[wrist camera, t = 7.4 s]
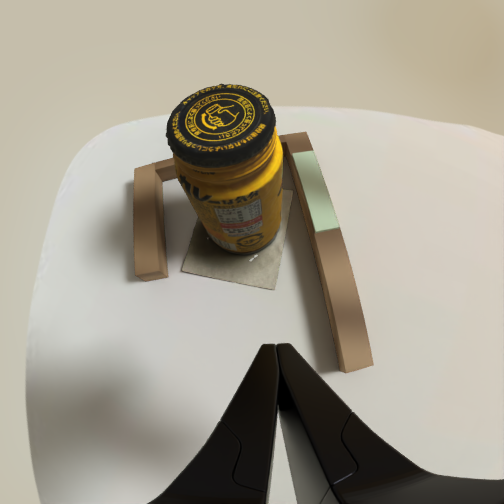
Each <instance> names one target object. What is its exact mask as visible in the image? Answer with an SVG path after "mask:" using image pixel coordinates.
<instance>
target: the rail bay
mask: <svg viewBox="0 0 504 504" xmlns="http://www.w3.org/2000/svg"><path fill="white" fill-rule="evenodd" d="M278 137H279V140H280V142H281V146H282V150H283V156H286V157H287V161H288V164H289V167H290V170H291V174H292V177H293V180H294V184H295V187H296V190H297V194H298V197H299V201H300V204H301V208H302V212H303V215H304V219H305V222H306V226H307V230H308V233H309V237H310V241H311V245H312V249H313V253H314V257H315V260H316V264H317V269H318V273H319V277H320V281H321V285H322V289H323V293H324V298H325V302H326V307H327V311H328V316H329V320H330V325H331V329H332V334H333V339H334V344H335V349H336V354H337V359H338V364H339V369H340V371H341V372H344V373H349V372H352V371H356V370H359V369H363V368H366V367H369V366H373V365H374V364H373V359H372V354H371V349H370V344H369V339H368V334H367V329H366V325H365V320H364V316H363V312H362V307H361V303H360V299H359V295H358V291H357V287H356V283H355V279H354V275H353V272H352V268H351V264H350V261H349V257H348V253H347V250H346V246H345V243H344V240H343V236H342V233H341V230H340V226H339V223H338V220H337V217H336V214H335V210H334V207H333V204H332V201H331V198H330V195H329V192H328V189H327V186H326V184H325V181H324V178H323V175H322V172H321V169H320V167H319V164H318V161H317V158H316V156H315V153H314V150H313V148H312V145H311V143H310V140H309V137H308V135H307V132H301V133H293V134H287V135H280V136H278ZM174 166H175V164H174V158H170V159H167V160H163V161H159V162H156V163H152V164H149V165H145V166H142V167H138V168H135V170H134V202H133V230H134V263H135V276H137V277H139V278H141V279H142V280H144V281H151V280H156V279H162V278H167V277H168V269H167V257H166V245H165V230H164V212H163V188H162V182H163V181H167V180H171V179H175V178H177V175H176V172H175V167H174Z"/></svg>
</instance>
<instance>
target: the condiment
mask: <svg viewBox="0 0 504 504" xmlns="http://www.w3.org/2000/svg"><path fill="white" fill-rule="evenodd" d="M275 126H276V117H275V114H274V110H273V108H272V107H271V106H270V103H269V100H268V99H267V98H266V97H265V96H264V95H262V94H261V93H260V92H258V91H256V90H254V89H252V88H249V87H246V86H241V85H231V84H229V85H224V84H220V85H218V86H212V87H207V88H204V89H202V90H199V91H198V92H196V93H194V94H192V95H190V96H189V97H187V98H185V99H184V100H183V101H182V102H181V103H180V104H179V105H178V106H177V107H176V108H175V109H174V110H173V111H172V113H171V116H170V118H169V120H168V123H167V133H166V137H167V138H168V145H169V146H170V149H171V150H172V152H173V158H174V164H175V166H174V167H175V172H176V175H177V178H178V181H179V182H180V184H181V186H182V188H183V189H184V191H185V193H186V195H187V196H188V198H189V200H190V202H191V204H192V206H193V207H194V209H195V211H196V213H197V215H198V219H197V222H196V225H195V228H194V231H193V235H192V238H191V241H190V245H189V249H188V252H187V255H186V258H185V261H184V265H183V269H182V271H185V272H189V273H193V274H198V275H202V276H207V277H212V278H216V279H221V280H226V281H231V282H236V283H241V284H247V285H251V286H256V287H262V288H268V289H273V290H275V286H276V281H277V276H278V271H279V266H280V261H281V256H282V250H283V245H284V240H285V235H286V229H287V224H288V218H289V213H290V207H291V201H292V196H293V190H287V189H283V188H282V173H283V150H282V146H281V142H280V140H279V137H278V135H277V131H276V127H275ZM207 237H209V239H207ZM254 255H258V256H257V257H256V258H254ZM251 258H254V260H253V261H251V262H250V261H249V260H250V259H251Z"/></svg>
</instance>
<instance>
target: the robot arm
mask: <svg viewBox="0 0 504 504" xmlns="http://www.w3.org/2000/svg"><path fill="white" fill-rule="evenodd" d="M278 413H279V419H280V423H281V428H282V433H283V438H284V443H285V447H286V452H287V457H288V462H289V467H290V471H291V476H292V481H293V485H294V490H295V495H296V500H297V504H504V479H502V480H487V479H471V478H460V477H451V476H444V475H437V474H434V473H431V472H428V471H426V470H424V469H422V468H420V467H419V466H417V465H416V464H414V463H413V462H412V461H410V460H409V459H408V458H406V457H405V456H404V455H402V454H401V453H400V452H398V451H397V450H396V449H394V448H393V447H392V446H390V445H389V444H388V443H387V442H385V441H384V440H383V439H382V438H380V437H379V436H378V435H377V434H376V433H374V432H373V431H372V430H371V429H370V428H369V427H368V426H367V425H366V424H365V423H364V422H363V421H362V420H361V419H360V418H359V417H358V416H357V415H356V414H355V413H354V412H352V410H351V409H350V408H349V407H348V406H347V405H346V404H345V403H344V401H343V400H342V399H341V398H340V397H339V396H338V395H337V394H336V393H335V392H334V391H333V390H332V389H331V388H330V387H329V385H328V384H327V383H326V382H325V381H324V380H323V379H322V378H321V377H320V376H319V375H318V374H317V372H316V371H315V370H314V369H313V368H312V367H311V366H310V365H309V364H308V363H307V362H306V360H305V359H304V358H303V357H302V356H301V355H300V354H299V353H298V352H297V351H296V349H295V348H294V347H293V346H292V345H291V344H290V343H279V344H277V345H275V344H263V345H261V347H260V349H259V351H258V353H257V354H256V356H255V358H254V360H253V362H252V364H251V366H250V367H249V369H248V371H247V373H246V375H245V377H244V378H243V380H242V382H241V384H240V386H239V387H238V389H237V391H236V393H235V395H234V396H233V398H232V400H231V402H230V403H229V405H228V407H227V409H226V410H225V412H224V414H223V416H222V417H221V419H220V421H219V422H218V424H217V426H216V427H215V429H214V431H213V432H212V434H211V435H210V437H209V438H208V440H207V441H206V443H205V444H204V446H203V447H202V448H201V450H200V451H199V452H198V453H197V455H196V456H195V457H194V458H193V460H192V461H191V462H190V463H189V464H188V465H187V466H186V468H185V469H184V470H183V471H182V472H181V473H180V474H179V475H178V477H177V478H176V479H175V480H174V481H173V482H172V483H171V484H170V485H169V486H168V488H167V489H166V490H165V491H164V492H163V493H161V494H160V495H159V496H158V497H157V498H155V499H154V500H152V501H151V502H149V503H147V504H268V502H269V494H270V485H271V477H272V467H273V458H274V448H275V437H276V427H277V414H278Z"/></svg>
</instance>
